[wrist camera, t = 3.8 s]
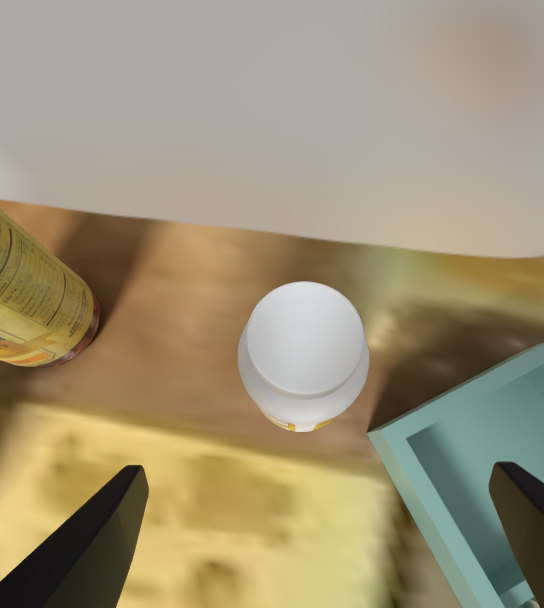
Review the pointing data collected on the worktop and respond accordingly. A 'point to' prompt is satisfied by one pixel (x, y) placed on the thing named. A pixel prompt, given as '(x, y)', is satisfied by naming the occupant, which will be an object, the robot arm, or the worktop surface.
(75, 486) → the worktop surface
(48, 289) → the sauce bottle
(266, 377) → the supplement bottle
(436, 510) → the divided tray
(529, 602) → the block
